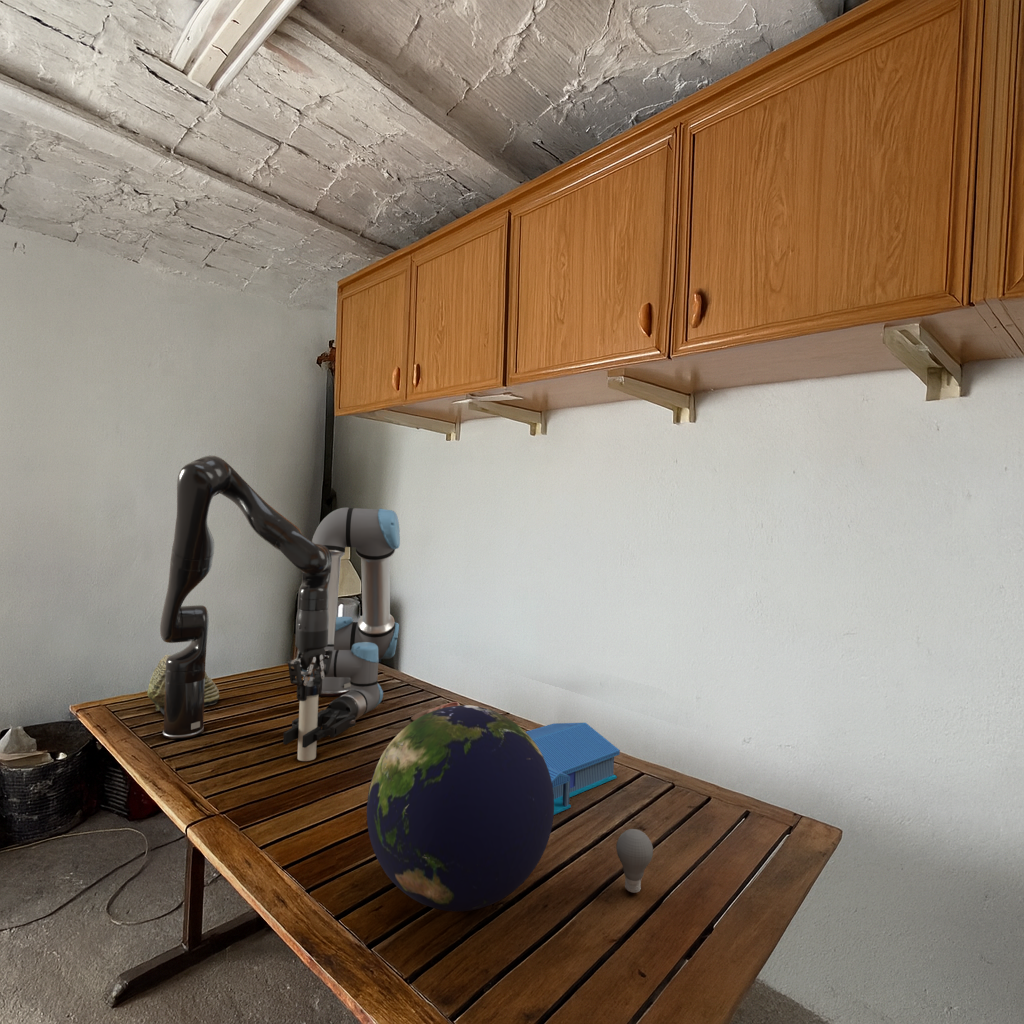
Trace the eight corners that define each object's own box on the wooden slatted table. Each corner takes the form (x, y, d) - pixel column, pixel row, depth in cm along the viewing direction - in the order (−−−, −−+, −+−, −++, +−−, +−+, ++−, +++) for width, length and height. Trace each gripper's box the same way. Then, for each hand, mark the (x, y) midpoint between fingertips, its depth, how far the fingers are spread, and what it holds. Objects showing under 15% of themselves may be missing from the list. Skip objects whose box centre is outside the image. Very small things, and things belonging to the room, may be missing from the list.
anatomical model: (407, 708, 179) (421, 696, 191) (406, 722, 179) (420, 709, 191) (452, 713, 177) (463, 701, 188) (451, 727, 177) (463, 714, 188)
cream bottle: (295, 761, 151) (298, 689, 150) (298, 754, 155) (301, 684, 155) (314, 761, 151) (317, 689, 151) (317, 753, 156) (320, 684, 155)
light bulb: (610, 879, 108) (613, 822, 108) (644, 879, 109) (647, 822, 109) (619, 902, 102) (622, 840, 102) (655, 901, 103) (658, 840, 103)
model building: (501, 837, 120) (504, 785, 120) (427, 790, 139) (429, 744, 138) (628, 782, 147) (630, 739, 147) (552, 748, 165) (553, 710, 165)
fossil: (144, 707, 182) (145, 655, 182) (212, 696, 194) (213, 647, 194) (151, 716, 175) (153, 662, 175) (221, 703, 188) (223, 653, 188)
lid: (305, 688, 156) (305, 679, 156) (324, 691, 155) (325, 681, 155) (293, 694, 151) (293, 685, 151) (313, 697, 150) (313, 687, 150)
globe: (322, 922, 94) (330, 722, 94) (423, 829, 122) (430, 674, 122) (507, 988, 83) (517, 762, 83) (572, 869, 111) (580, 699, 110)
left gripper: (305, 634, 145) (302, 708, 145) (343, 624, 158) (340, 691, 158) (279, 630, 147) (276, 703, 148) (318, 620, 161) (315, 687, 161)
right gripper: (374, 727, 168) (326, 761, 146) (316, 718, 173) (261, 750, 150) (375, 699, 168) (328, 729, 145) (317, 691, 173) (262, 719, 150)
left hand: (309, 696), depth 153 cm, fingers closed on lid, 5 cm apart
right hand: (294, 740), depth 148 cm, fingers closed on cream bottle, 4 cm apart
